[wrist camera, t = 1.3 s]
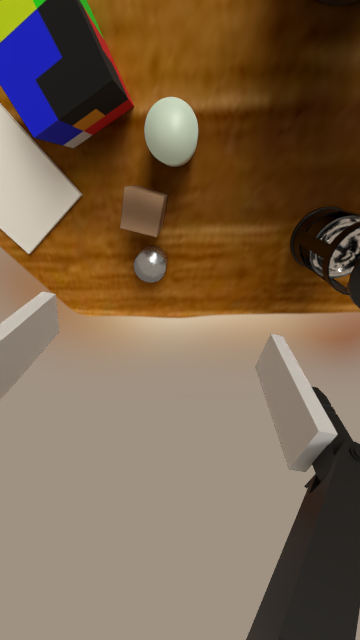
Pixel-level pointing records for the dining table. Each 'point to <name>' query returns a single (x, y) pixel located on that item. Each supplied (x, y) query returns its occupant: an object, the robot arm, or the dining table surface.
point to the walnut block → (143, 210)
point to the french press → (331, 248)
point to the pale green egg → (171, 131)
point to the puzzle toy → (59, 70)
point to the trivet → (29, 187)
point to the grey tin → (151, 264)
